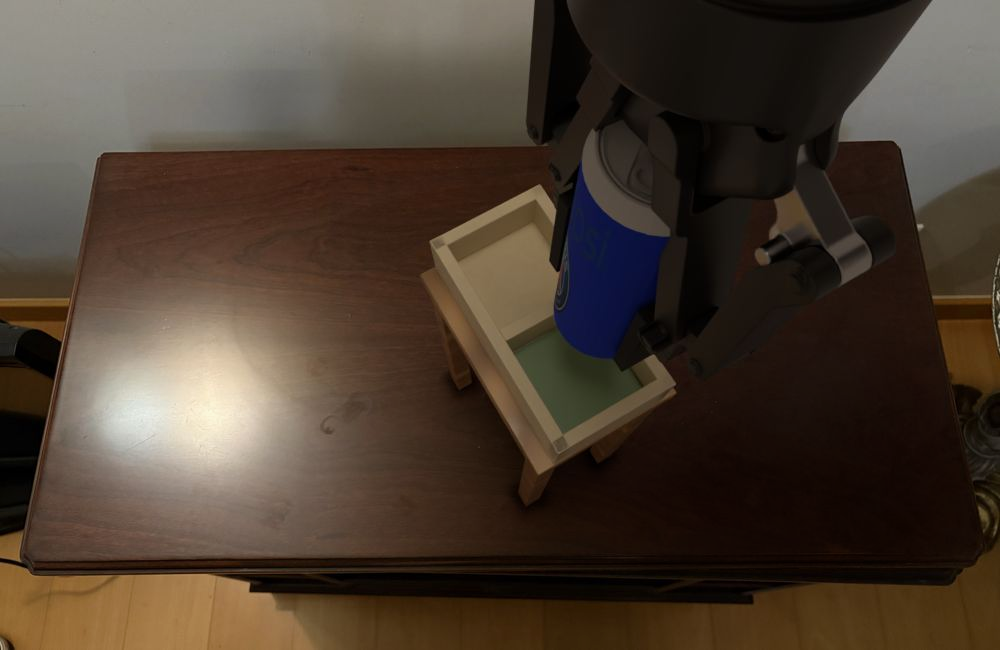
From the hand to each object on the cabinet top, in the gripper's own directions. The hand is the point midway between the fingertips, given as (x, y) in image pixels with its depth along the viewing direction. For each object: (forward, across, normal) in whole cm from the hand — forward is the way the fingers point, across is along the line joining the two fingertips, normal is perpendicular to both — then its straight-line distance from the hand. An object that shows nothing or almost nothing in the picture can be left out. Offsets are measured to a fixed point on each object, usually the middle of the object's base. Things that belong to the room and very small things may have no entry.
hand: (607, 301), depth 34 cm
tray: (+10, -3, -1) cm, 11 cm away
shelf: (+36, -3, -1) cm, 37 cm away
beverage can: (+2, 0, 0) cm, 2 cm away
